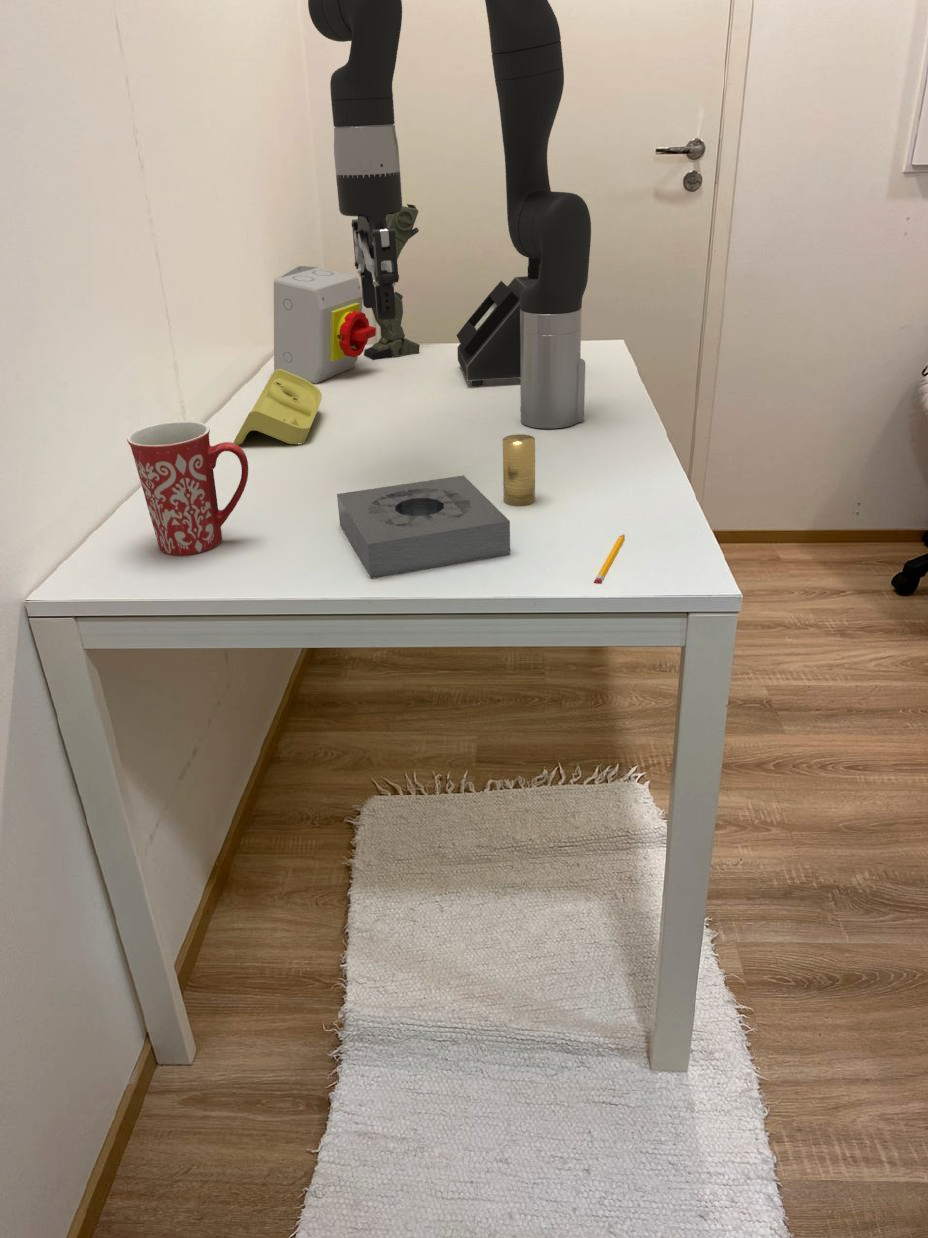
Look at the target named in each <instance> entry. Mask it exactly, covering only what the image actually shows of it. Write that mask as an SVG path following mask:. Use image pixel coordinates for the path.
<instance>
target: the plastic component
mask: <svg viewBox="0 0 928 1238" xmlns="http://www.w3.org/2000/svg"><path fill="white" fill-rule="evenodd" d="M322 398H323V395H322V392H321V390H320V389H319V388H318V386H316V384H314V383H311V382H309V381H307V380H305V379H303V378H301V377H299V376H297V375H294V374H292V373H290V372H287V371H285V370H282V369H277V370H275V371H274V370H273V372H272V374H271V375H270V377H269V379H268V380H267V383H266V384H265V386H264V388H263V390H262V391H261V393H260V394H259V397H258V399H257V400H256V402H255V404H254V406H253V408H252V410H250V412H249V413H248V415H247V416H246V418H245V420H244V422H243V423H242V426H241V428H240V429H239V431H238V433H237V435H236V437H235V438H234V440H233V442H232V443H234V444H236V445H238V446H242V444H243V443H244V441H245V439H246V438H247V435H248V434H249V433H250V432H251V431H257V432H259V433H262V434H265V435H267V436H269V437H272V438H275V439H276V440H278V441H282V442H284V443H286V444H289V445H293V444H298V443H302V444H304V443H305V442H306V440H307V437H308V435H309V432H310V430H311V428H312V425H313V423H314V420H315V418H316V415H317V412H318V411H319V407H320V406H321V405H320V404H321V401H322ZM304 441H305V442H304ZM303 442H304V443H303Z"/></svg>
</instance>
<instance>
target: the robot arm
mask: <svg viewBox="0 0 928 1238" xmlns="http://www.w3.org/2000/svg"><path fill="white" fill-rule="evenodd" d="M402 1H403V0H307V6H308V7H307V8H308V12H309V17H310V19H311V22H312V24H313V26H314V27H315V29H316V30H317V31H318V32H319V33H320V34H321V35H322V36H324V38H326V39H328V40H331V41H334V42H339V43H342V42H343V43H346V42H350V43H351V44H350V48H349V49H350V50H349V55H348V60H347V62H346V63H345V64H344V65H342V66H341V67H339V68H337V69H336V70H334V72H332V74H331V76H330V83H329V84H330V85H329V86H330V101H331V111H332V112H331V113H332V122H333V123H332V124H333V127H334V128H333V156H334V167H335V168H334V169H335V177H336V186H337V187H336V188H337V197H338V199H337V200H338V210H339V212H340V214H341V215H342V216H345V217H346V216H347V217H357V218H356V219H352V220H351V228H352V239H353V250H354V251H353V253H354V267H355V269H356V270H357V274H358V276H359V277H360V276H363V277H362V278H361V277H360V284H361V285H360V287H361V291H362V297H363V299H362V306H363V307H364V308H366V309H372V308H376V311H377V317H378V318H379V319H380V320H386V319H393V318H395V316H396V311H395V297H394V293H395V286H396V285H397V283H399V280H400V275H399V268H398V266H399V265H398V259H397V253H396V240H395V235H396V233H395V230H394V228H387V221H386V216H387V215H388V214H395V213H399V212H400V211H401V210H402V206H403V197H402V181H401V179H402V178H401V167H400V166H401V165H400V150H399V144H398V137H397V131H396V125H395V123H396V122H395V121H396V120H395V109H394V107H395V106H394V92H393V91H394V90H393V81H394V75H395V74H394V73H395V70H396V64H397V57H398V50H399V45H400V39H401V38H400V37H401V30H402V21H403V3H402ZM484 2H485V9H486V16H487V22H488V29H489V30H488V31H489V39H490V40H489V41H490V50H491V51H490V53H491V59H492V66H493V74H494V82H495V88H496V93H497V100H498V106H499V107H498V108H499V115H500V126H501V135H502V143H503V154H504V166H505V167H504V168H505V187H506V190H505V191H506V213H507V226H508V235H509V237H510V240H511V243H512V246H513V247H514V249H515V251H516V252H517V253H519V254H520V255H521V256H522V257H526V258H533V259H540V260H541V263H540V274H539V278H538V280H537V281H536V282H535V283H534V284H532V285H530V286H527V287H525V288H524V289H523V290H522V291H521V294H520V378H519V380H520V408H519V409H520V422H521V423H522V424H523V425H524V426H527V427H529V428H530V427H532V428H534V429H536V428H537V429H547V430H548V429H562V428H568V427H571V426H574V425H576V424H578V423H583V422H584V421H585V397H586V396H585V393H586V392H585V389H586V385H585V384H586V361H585V360H584V359H583V358H581V349H582V348H581V345H582V344H581V343H582V342H581V341H582V307H583V306H582V305H583V304H582V303H583V297H584V293H585V291H586V289H587V284H588V279H589V268H590V253H591V239H592V221H591V215H590V210H589V207H588V204H587V203H586V201H585V199H583V198H582V197H581V196H580V195H578V194H575V193H573V192H567V191H553V190H552V189H551V183H550V177H549V168H548V148H549V141H550V136H551V132H552V129H553V126H554V123H555V120H556V117H557V115H558V111H559V108H560V104H561V100H562V96H563V91H564V85H565V70H564V61H563V59H564V57H563V48H562V41H561V39H562V37H561V31H560V26H559V23H558V19H557V16H556V14H555V12H554V10H553V7H552V6H551V3H550V2H549V0H484ZM381 270H387V272H384V273H382V271H381Z"/></svg>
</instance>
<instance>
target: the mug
mask: <svg viewBox="0 0 928 1238" xmlns="http://www.w3.org/2000/svg"><path fill="white" fill-rule="evenodd" d="M210 433H211V429H210V427H209V425H207V424H205V423H203V422H199V421H191V420H182V421H181V420H180V421H179V420H178V421H167V422H161V423H157V424H152V425H151V424H150V425H148V426H147V425H146V426H144V427H142V428H139V429H136V430H134V431H132V432H131V433H129V434H128V435H127V437H126V441H127V443H128V445H129V446H130V449H131V453H132V456H133V460H134V463H135V466H136V470H137V471H136V472H137V474H138V477H139V481H140V484H141V487H142V491H143V496H144V498H145V502H146V505H147V510H148V513H149V517H150V519H151V523H152V528H153V530H154V535H155V538H156V542H157V545H158V548H159V550H160V551H161V552H162V553H164V554H167V555H172V556H187V555H188V556H189V555H195V554H199V553H203V552H206V551H209V550H211V549H213V548H215V547H216V546H218V545H219V544H220V543H221V541H222V539H223V537H222V536H223V534H222V533H223V532H222V525H224V523H225V522H226V521H227V519H228V518H229V516H230V515H231V513H233V511H234V509H235V508H236V506H237V504H238V502H239V501H240V499H241V498H242V495H243V494H244V491H245V488H246V486H247V482H248V480H249V479H248V478H249V462H248V459H247V455H246V453H245V451H244V450H243V447H241V445H236V444H234V443H233V442H232V441H231V442H230V441H224V442H220V443H217V444H215V445H212V446H211V445H210V444H211V443H210ZM225 452H230V453H232V454H234V455H235V456H236V457H237V458H238V460H239V463H240V466H241V476H240V480H239V483H238V486H237V488H236V491H234V493H233V495H232V497H231V499H230V500H229V502H228V503H227V504H226V506H225V507H224V508H223V509H219V505H218V498H217V497H218V496H217V490H216V482H215V474H214V469H215V468H216V467H217V466H216V465H217V461H218V457H220V455H221V454H222V453H225Z"/></svg>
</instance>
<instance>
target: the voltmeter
mask: <svg viewBox="0 0 928 1238" xmlns="http://www.w3.org/2000/svg"><path fill="white" fill-rule="evenodd" d="M527 258H528V257H527ZM527 262H528V265H527V275H526V276H525V275H524V276H515V277H514V278H513V279H512V280H511V282H509V283H508V285H507V284H506V283H505V282H504V281H502V280H500V281H499V283H497V285H496V286H495V287H494V288H493V289H492V291H491V292H490V293H489V294H488V295H487V297H485V299H484V300H483V301H482V303H480V305H479V306H478V307H477V309H476V310H475V311H474V312H473V314H472V315H471V316H470V317H469V318H468V320H467V321H466V322H465V323H464V325H463V326H462V327H461V329H460V330H459V331H458V332H457V334H456V337H457V339H458V341H459V342H458V343H459V345H458V346H457V348H456V350H457V361H458V364H459V366H460V368H461V371H462V372H463V375H464V378H465V380H466V381H467V382H471V386H473V387H481V386H483V385H484V381H488V380H507V379H520V294H521V291H522V290H523V289H524V288H525V287H527V286H530V285H532V284H534V283H535V282H536V281H537V280H538V278H539V274H540V263H541V260H540V259H533V258H528V261H527Z"/></svg>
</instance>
